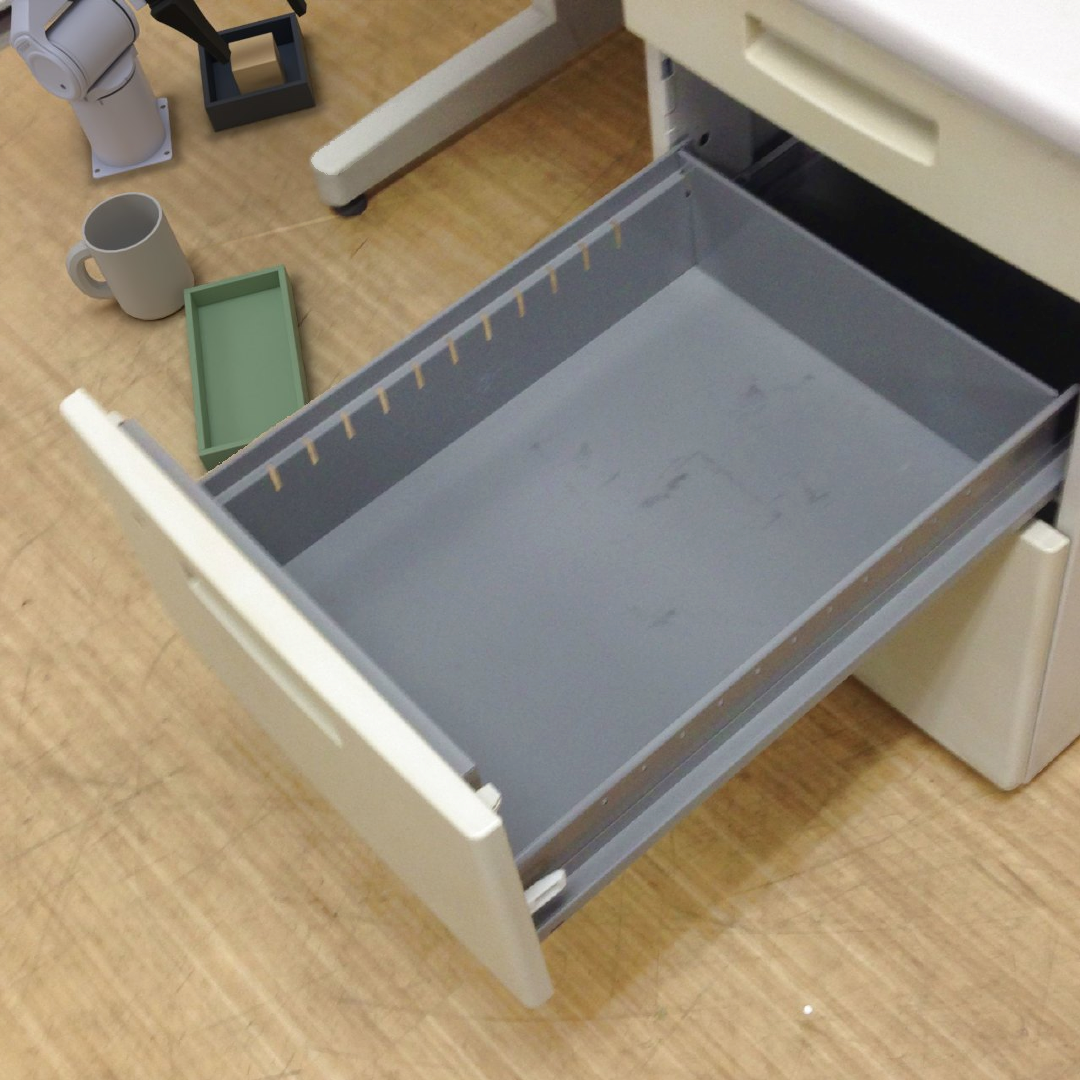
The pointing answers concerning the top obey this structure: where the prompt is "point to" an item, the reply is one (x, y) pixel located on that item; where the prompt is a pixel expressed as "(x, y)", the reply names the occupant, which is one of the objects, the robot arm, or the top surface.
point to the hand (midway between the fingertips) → (264, 35)
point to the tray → (243, 359)
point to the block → (257, 63)
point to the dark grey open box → (271, 102)
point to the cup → (132, 257)
